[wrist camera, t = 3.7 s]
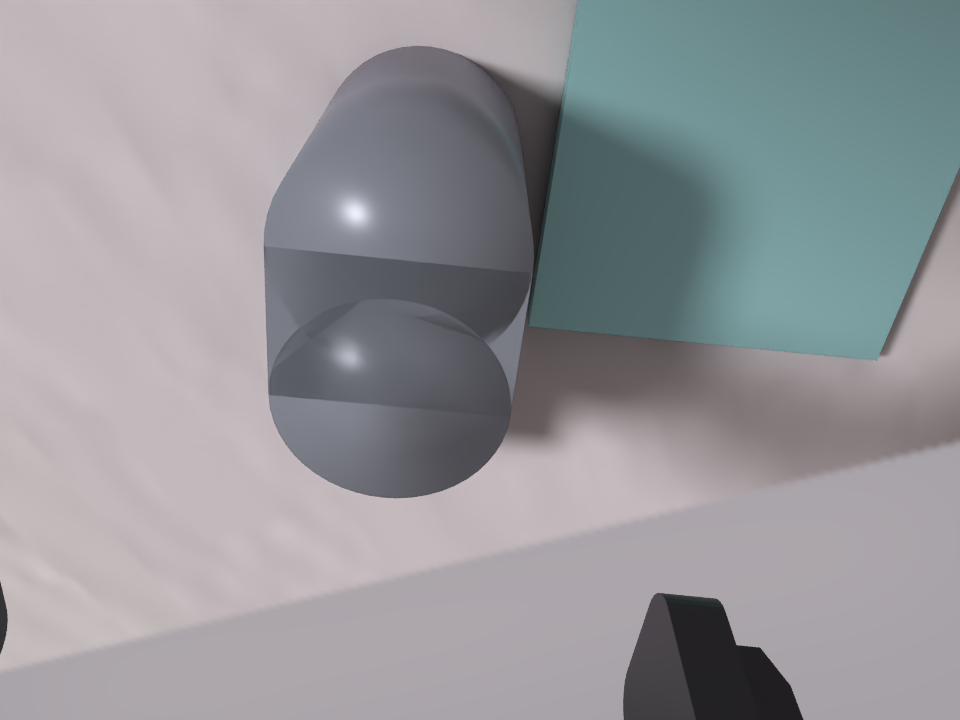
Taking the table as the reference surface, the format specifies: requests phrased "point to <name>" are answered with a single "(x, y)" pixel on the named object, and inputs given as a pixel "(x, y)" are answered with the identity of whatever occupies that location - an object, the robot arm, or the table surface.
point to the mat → (748, 170)
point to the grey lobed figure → (400, 277)
